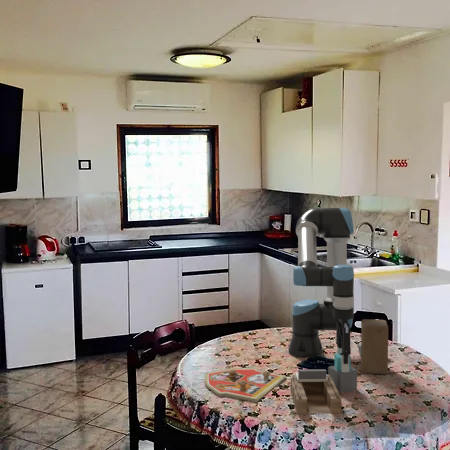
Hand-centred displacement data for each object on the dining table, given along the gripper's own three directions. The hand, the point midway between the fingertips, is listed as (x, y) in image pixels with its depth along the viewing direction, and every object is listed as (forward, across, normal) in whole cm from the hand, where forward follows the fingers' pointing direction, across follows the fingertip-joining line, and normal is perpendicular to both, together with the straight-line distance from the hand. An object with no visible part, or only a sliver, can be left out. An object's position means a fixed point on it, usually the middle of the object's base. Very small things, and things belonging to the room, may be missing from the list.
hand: (343, 368), depth 205 cm
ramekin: (+7, -36, +19) cm, 41 cm away
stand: (+8, -1, 0) cm, 8 cm away
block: (0, -1, 0) cm, 1 cm away
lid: (+3, +2, -12) cm, 13 cm away
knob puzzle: (+9, -9, -39) cm, 41 cm away
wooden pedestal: (+9, +11, -12) cm, 19 cm away
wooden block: (+8, -20, +17) cm, 27 cm away
